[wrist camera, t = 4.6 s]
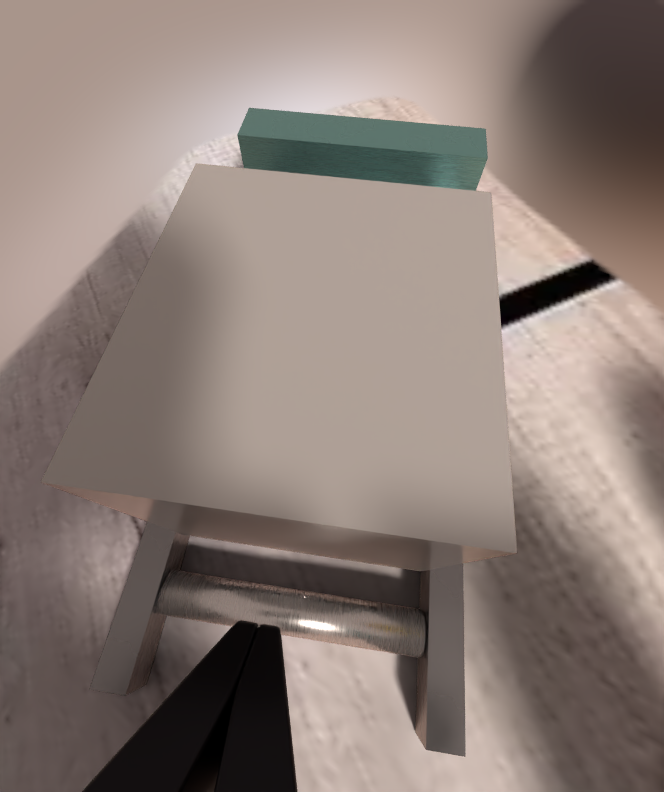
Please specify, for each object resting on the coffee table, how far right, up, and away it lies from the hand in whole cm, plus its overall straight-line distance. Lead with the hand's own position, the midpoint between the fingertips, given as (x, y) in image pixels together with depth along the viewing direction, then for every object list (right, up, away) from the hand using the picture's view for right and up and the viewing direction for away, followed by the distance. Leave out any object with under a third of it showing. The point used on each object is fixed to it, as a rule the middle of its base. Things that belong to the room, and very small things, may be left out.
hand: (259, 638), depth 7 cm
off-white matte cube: (+1, +3, +9) cm, 10 cm away
